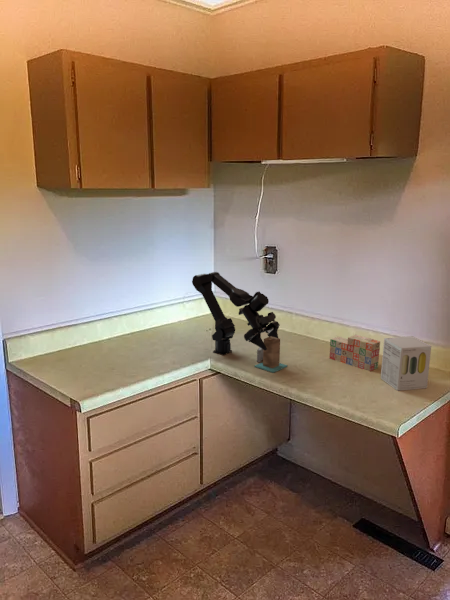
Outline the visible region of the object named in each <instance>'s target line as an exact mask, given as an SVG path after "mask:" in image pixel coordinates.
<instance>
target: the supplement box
mask: <svg viewBox="0 0 450 600" xmlns="http://www.w3.org/2000/svg"><path fill="white" fill-rule="evenodd" d="M431 351H432V345H431V344H428V343H427V342H424V341H423V340H421V339H419V338H417V337H415V336H412V335H411V336H397V337H384V338H383V348H382V359H381V371H380V379H381V380H382V381H383V382H385V383H387V384H388V386H391V387H392V388H393V389H394V390H396V391H409V390H410V391H411V390H419V389H427V388H428V382H429V381H428V380H429V371H430V362H431V361H430V360H431V355H432V354H431V353H432V352H431Z"/></svg>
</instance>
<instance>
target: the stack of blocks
mask: <svg viewBox="0 0 450 600" xmlns="http://www.w3.org/2000/svg"><path fill="white" fill-rule="evenodd" d="M329 340H330V341H329V346H330V347H329V359H330V360H334V361H336V362H339V363H342V364H346V365H348V366H352V367H354V368H358V369H361V370H365V371H368V372H372V371H374V370H376V369H378V368H379V360H380V350H381V341H380V340H376V339H374V338H371V337H366V336H363V335H358V334H354V335H351V336H348V337H347V338H345V337H342V336H336V337H333V338H330V339H329Z"/></svg>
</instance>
